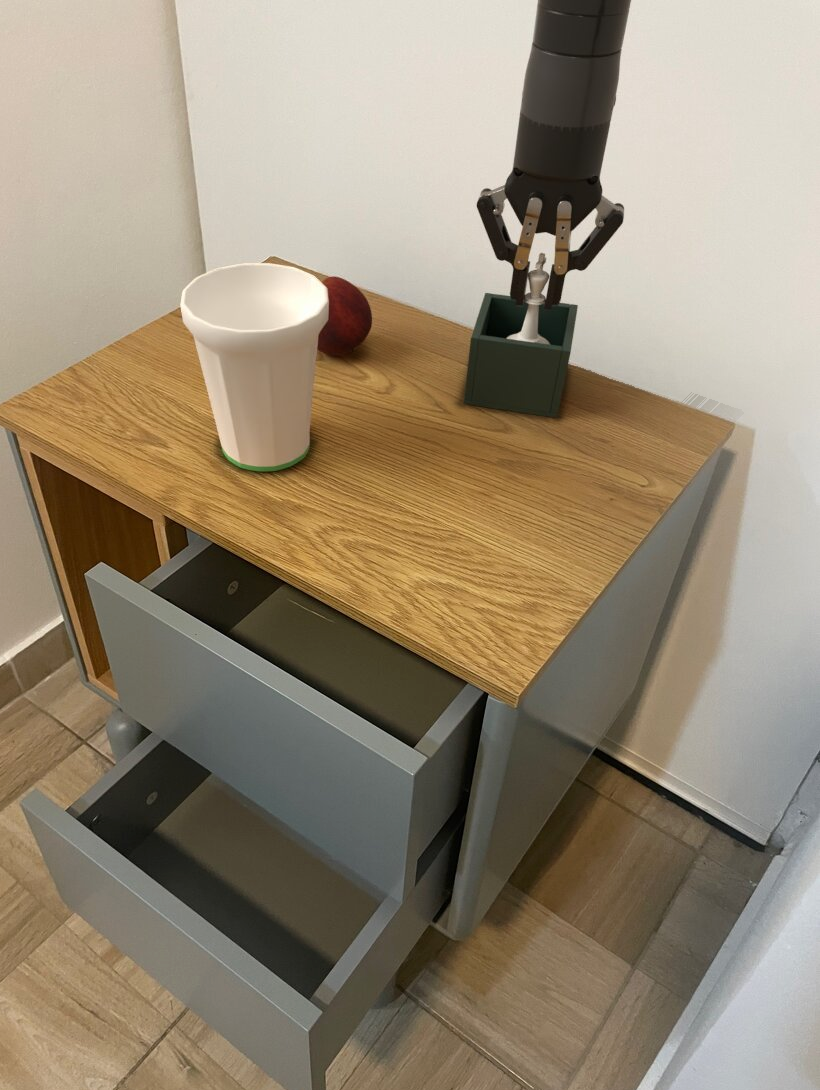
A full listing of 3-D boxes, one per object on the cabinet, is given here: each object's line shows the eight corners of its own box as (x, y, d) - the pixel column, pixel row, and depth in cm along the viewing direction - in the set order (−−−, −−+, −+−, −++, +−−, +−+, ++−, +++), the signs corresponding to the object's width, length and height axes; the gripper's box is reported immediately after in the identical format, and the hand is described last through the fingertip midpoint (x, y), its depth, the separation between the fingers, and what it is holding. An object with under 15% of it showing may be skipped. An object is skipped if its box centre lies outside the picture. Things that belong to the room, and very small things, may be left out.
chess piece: (494, 356, 88) (507, 258, 81) (512, 334, 91) (526, 238, 84) (540, 369, 86) (558, 270, 79) (557, 346, 89) (576, 250, 82)
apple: (326, 326, 101) (326, 258, 95) (384, 346, 98) (387, 277, 92) (289, 354, 96) (286, 284, 90) (349, 375, 93) (349, 305, 88)
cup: (176, 437, 85) (152, 287, 74) (282, 395, 90) (274, 249, 80) (247, 503, 78) (232, 348, 67) (357, 453, 84) (359, 302, 73)
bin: (564, 369, 95) (578, 304, 90) (557, 418, 89) (570, 351, 83) (477, 356, 97) (485, 292, 91) (463, 403, 90) (470, 337, 85)
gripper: (476, 113, 71) (457, 313, 83) (651, 131, 69) (604, 333, 81) (489, 87, 76) (469, 278, 88) (652, 102, 74) (608, 296, 86)
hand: (534, 304), depth 85 cm, fingers closed
